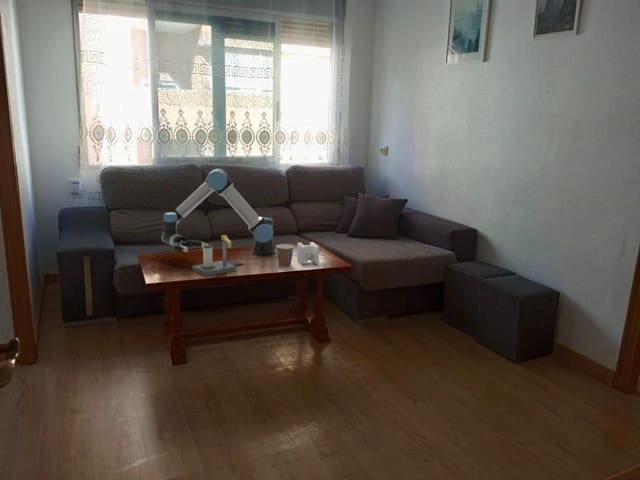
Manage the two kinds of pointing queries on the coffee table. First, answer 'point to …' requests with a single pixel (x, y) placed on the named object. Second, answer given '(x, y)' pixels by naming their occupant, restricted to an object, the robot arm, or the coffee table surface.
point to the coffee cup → (284, 254)
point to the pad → (235, 263)
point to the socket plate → (216, 266)
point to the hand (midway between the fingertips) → (197, 248)
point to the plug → (207, 257)
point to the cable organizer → (307, 253)
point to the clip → (224, 237)
